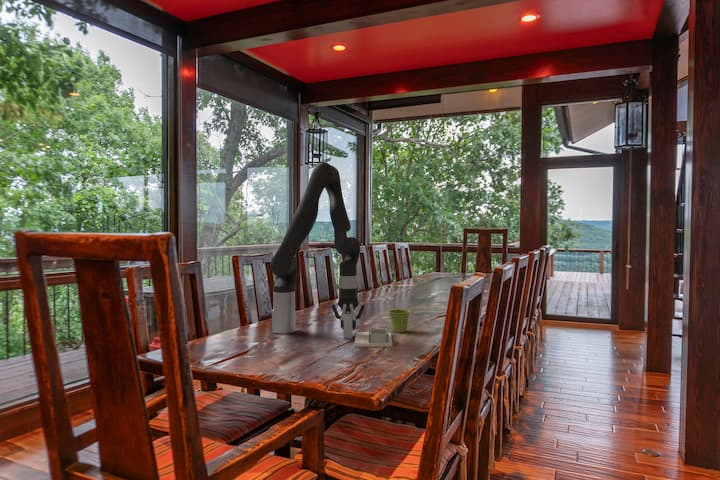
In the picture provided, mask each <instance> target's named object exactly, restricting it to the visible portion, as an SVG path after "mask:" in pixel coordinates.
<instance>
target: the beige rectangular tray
mask: <svg viewBox="0 0 720 480" xmlns="http://www.w3.org/2000/svg"><path fill="white" fill-rule="evenodd" d="M392 340H393V339H392V334H391V332H389V329H388V328H369V329H368V331H367V332H364V331H363V332H355V338H354V347H356V348H357V347H363V348H364V347H366V348H368V347H369V348H370V347H373V348H374V347H375V348H376V347H379V348H380V347H383V348H385V347H386V348H387V347H388V348H389V347H393V341H392Z"/></svg>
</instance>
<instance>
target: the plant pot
mask: <svg viewBox="0 0 720 480" xmlns="http://www.w3.org/2000/svg"><path fill="white" fill-rule="evenodd" d="M387 312H388V314H389V318H390V323H391V324H390V325H391V331H392V332H393V333H395V334H396V333H399V334H401V333H406V332H407V331H408V323H409V316H410V313H411V311H410V310H408V309H401V308H400V309H389V310H387Z"/></svg>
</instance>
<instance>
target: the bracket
mask: <svg viewBox="0 0 720 480" xmlns="http://www.w3.org/2000/svg"><path fill="white" fill-rule="evenodd" d="M352 321H353V317H352V313H351V312H345V313H343V325H344V330H343V340H344V339H345V340H347V339H348V340H349V339H350V340H351V339H354V338H353V337H354V330H353V322H352Z"/></svg>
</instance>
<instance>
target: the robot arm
mask: <svg viewBox="0 0 720 480" xmlns="http://www.w3.org/2000/svg"><path fill="white" fill-rule="evenodd" d="M306 185H307V186H306V188H305V191H304V192H303V195H302V198H301V200H300V201H299V203H298V206H297V208H296V210H295V212H294V214H293V217H292V219H291V221H290V223H289V226H288V228H287V230H286V232H285V235H284V237H283V239H282V242H281V243H280V246H279V247H278V249H277V250H276V252H275V253H274V255H273V257H272V258H271V261H270V264H269V266H270V271H271V272H272V274H273V275H275V281H274V283H273V285H272V294H273V295H272V299H273V301H272V303H273V304H272V305H273V306H272V308H273V309H272V311H271V314H272V315H271V318H272V319H271V322H272V323H271V324H272V326H271V327H272V329H271V330H272V331H271V333H273V334H281V335H282V334H283V335H284V334H292V333H294V332H296V291H295V290H296V286H297V285H296V284H297V274H298V273H297V268H298V267H297V261H296V258H295V256H296V254H297V252H298V250H299V248H300V247H301V245H302V244H303V243H304V241H305V240H306V239H307V238H308V236H309V235H310V233H311V231H312V230H313V228H314V225H315V223H316V222H317V219H318V214H319V204H320V199H321V196H322V194H323V191H324V189H325V191H326V193H327V196H328V201H329V216H330V221H331V223H332V224H331V225H332V227H333V237H334V238H333V240H334V248H335V250H336V252H337V253H338V254H339V255H341V256H345V258H344V260H342V261H340V262H339V270H338V271H339V273H338V275H339V276H338V301H337V302H336V303H332V304H331V308H332V310H333V313H334V316H335V319H337V320H339V321H340V329H342V331H344V325H343V313H345V312H351V313H352V317H353V321H352V322H353V331H354V330H355V329H356V328H357V327H356V326H357V320H359V319H361V317H362V314H363V312H364V309H365V306H366V304H365V303H361V302H359V299H358V296H359V295H358V286H359V284H358V274H357V273H358V272H357V271H358V268H357V266H358V262H359V258H360V254H361V243H360V240H359V239H358V238H356V237H354V236H350V237H348V236H347V233H348V232H350V231H351V229H352V225H351V222H350V219H349V215H348V212H347V209H346V206H345V201H344V196H343V190H342V184H341V177H340V172H339V170H338V169H337V168H336V167H335V166H333V165H332V164H330V163H328V162H326V161H321V162H318V163H316V165H315V166H314V168H313V169H312V172H311V174H310V178H309V180H308V182H307V184H306ZM338 307H339V308H340V309H341V314H339V311H338ZM357 307H358V309H359V311H358V314H357V315H356V310H357V309H356V308H357Z"/></svg>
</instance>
